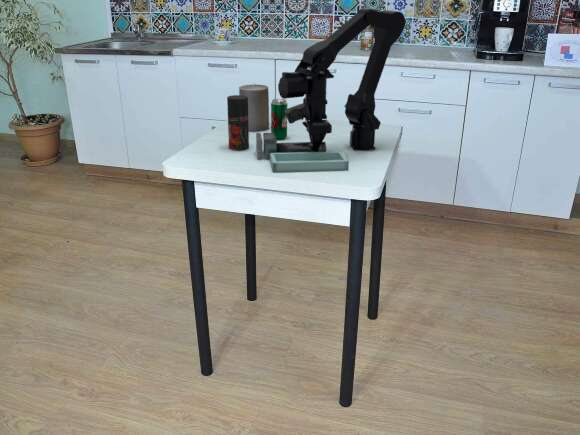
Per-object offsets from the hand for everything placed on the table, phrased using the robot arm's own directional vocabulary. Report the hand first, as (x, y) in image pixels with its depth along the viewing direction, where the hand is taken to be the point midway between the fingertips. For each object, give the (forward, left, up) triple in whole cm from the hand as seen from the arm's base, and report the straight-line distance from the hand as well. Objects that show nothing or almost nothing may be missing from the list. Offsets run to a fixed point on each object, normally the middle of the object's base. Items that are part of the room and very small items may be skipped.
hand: (314, 149), depth 158 cm
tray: (+3, +11, -1) cm, 11 cm away
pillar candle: (+15, -31, -2) cm, 35 cm away
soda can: (+8, -18, -2) cm, 20 cm away
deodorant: (+21, -8, -2) cm, 23 cm away
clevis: (+14, 0, -1) cm, 14 cm away
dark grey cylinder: (+4, 0, -1) cm, 4 cm away
